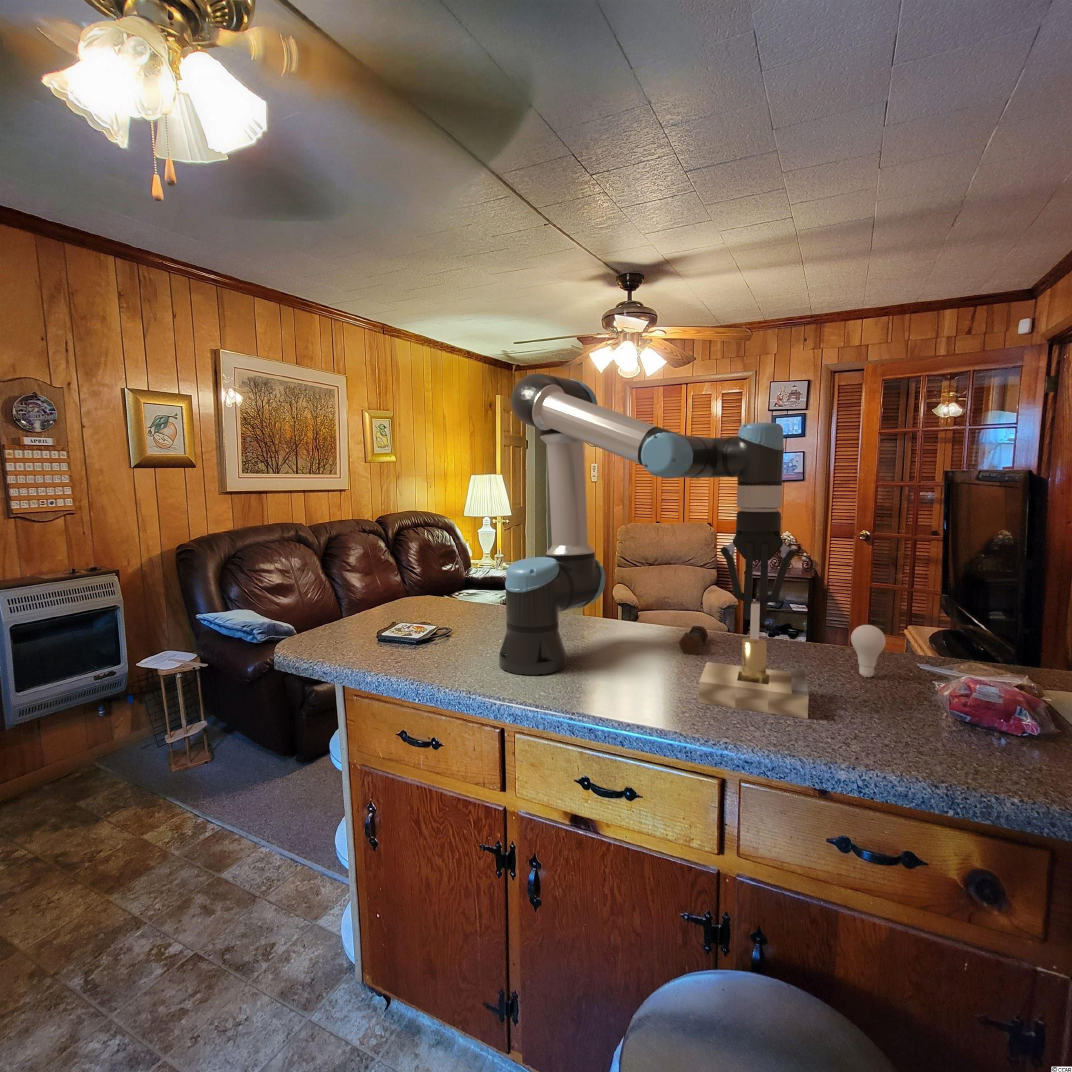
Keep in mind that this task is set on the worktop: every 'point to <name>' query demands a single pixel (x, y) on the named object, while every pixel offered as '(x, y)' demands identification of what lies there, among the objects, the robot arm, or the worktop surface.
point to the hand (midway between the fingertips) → (754, 637)
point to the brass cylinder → (754, 660)
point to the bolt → (693, 640)
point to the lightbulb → (867, 647)
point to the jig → (755, 690)
